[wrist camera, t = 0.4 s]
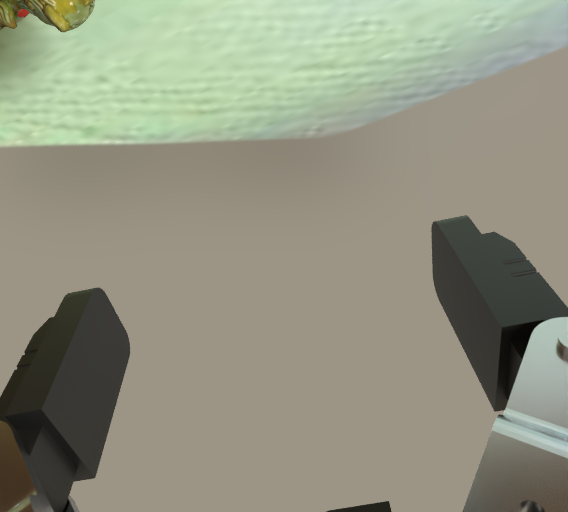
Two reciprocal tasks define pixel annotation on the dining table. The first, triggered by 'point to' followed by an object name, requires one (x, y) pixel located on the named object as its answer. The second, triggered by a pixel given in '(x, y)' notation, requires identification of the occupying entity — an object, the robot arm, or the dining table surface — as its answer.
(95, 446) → the robot arm
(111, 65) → the dining table surface
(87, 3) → the figurine
